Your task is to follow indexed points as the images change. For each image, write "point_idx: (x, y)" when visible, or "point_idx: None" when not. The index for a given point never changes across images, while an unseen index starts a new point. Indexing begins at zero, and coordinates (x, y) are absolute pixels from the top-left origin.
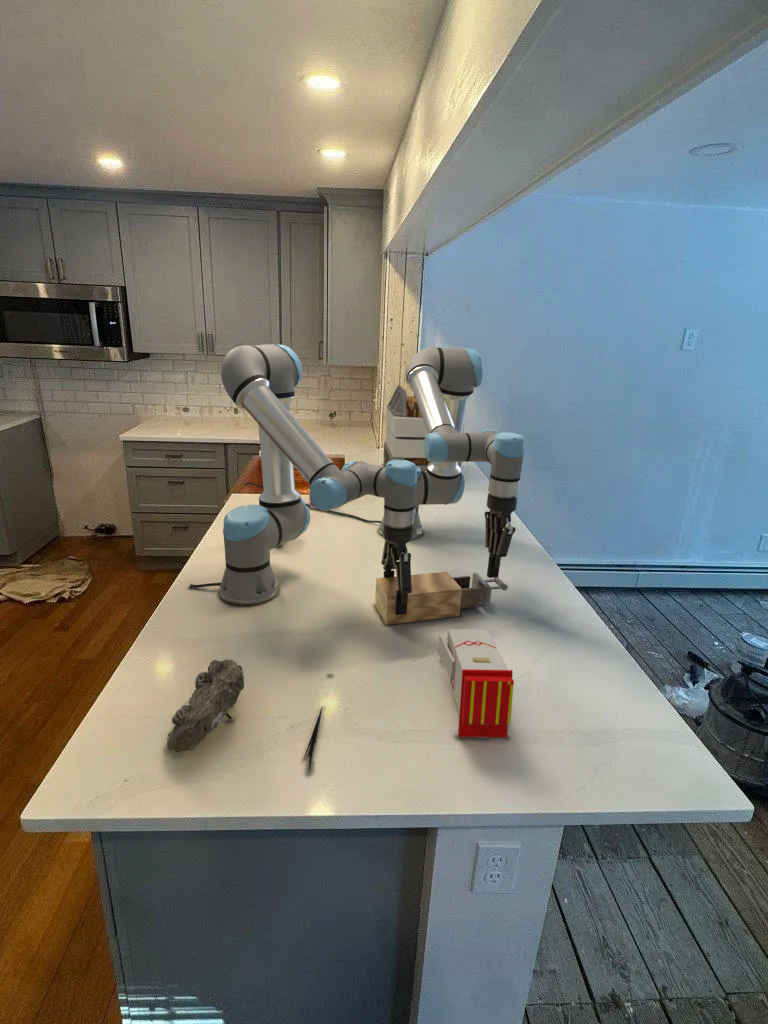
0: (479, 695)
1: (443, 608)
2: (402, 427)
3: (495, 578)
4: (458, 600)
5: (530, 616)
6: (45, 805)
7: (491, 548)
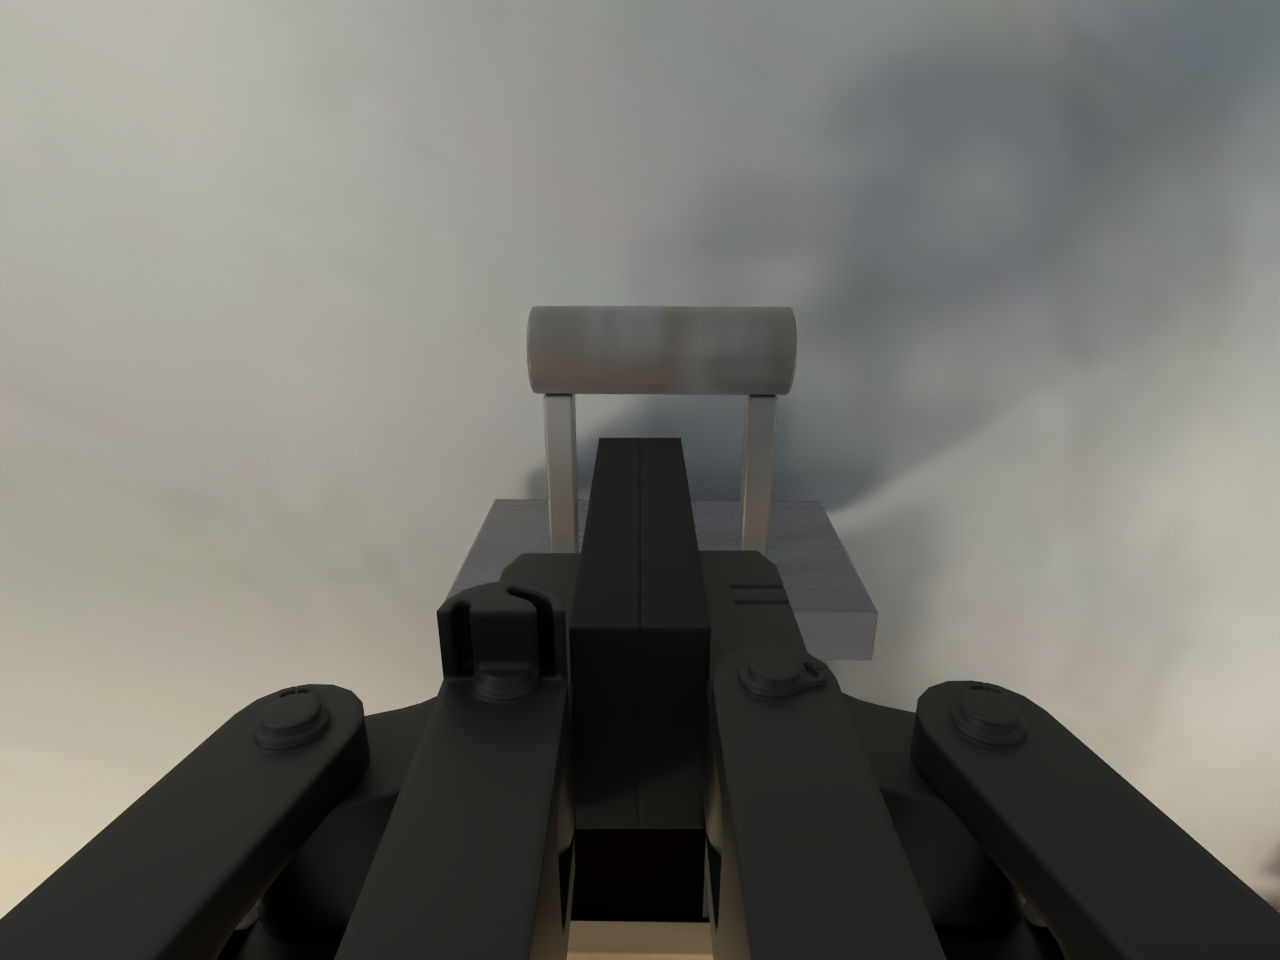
0: None
1: None
2: None
3: (564, 387)
4: None
5: (1034, 120)
6: None
7: (563, 919)
